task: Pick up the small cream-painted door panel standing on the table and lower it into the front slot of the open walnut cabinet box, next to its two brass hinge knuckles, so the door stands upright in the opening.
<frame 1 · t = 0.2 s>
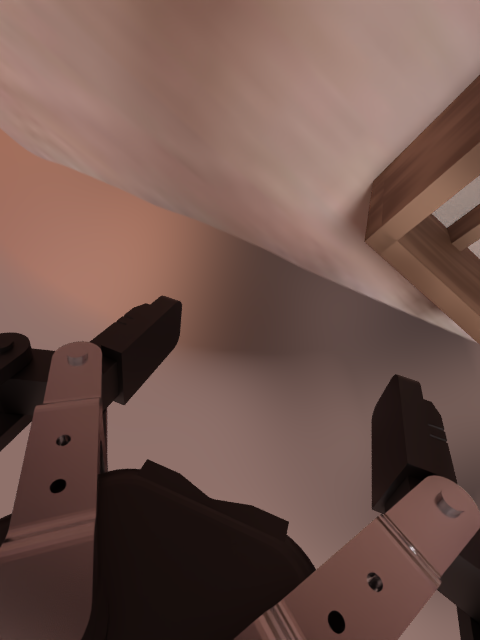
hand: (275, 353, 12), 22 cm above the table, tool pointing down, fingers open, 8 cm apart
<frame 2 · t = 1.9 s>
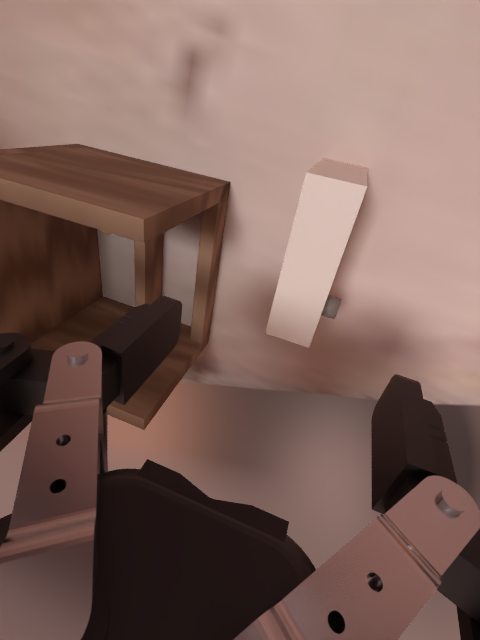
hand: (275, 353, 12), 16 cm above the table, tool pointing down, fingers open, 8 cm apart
cabinet: (149, 253, 31), on the table
door: (323, 233, 25), on the table
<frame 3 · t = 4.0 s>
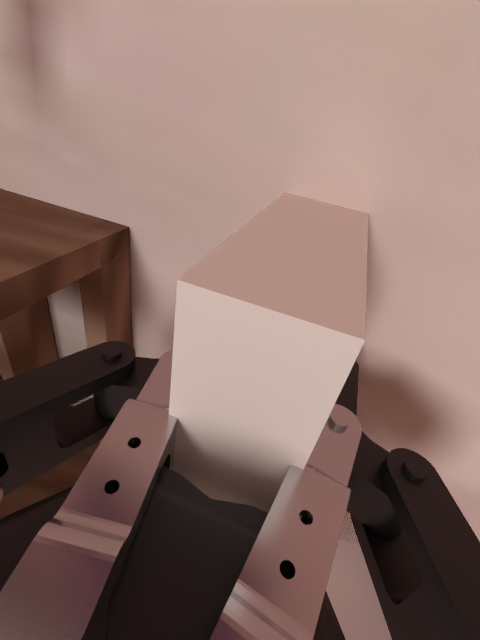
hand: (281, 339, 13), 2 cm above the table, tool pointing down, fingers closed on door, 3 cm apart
cabinet: (34, 323, 20), on the table
door: (290, 320, 14), on the table, touching gripper
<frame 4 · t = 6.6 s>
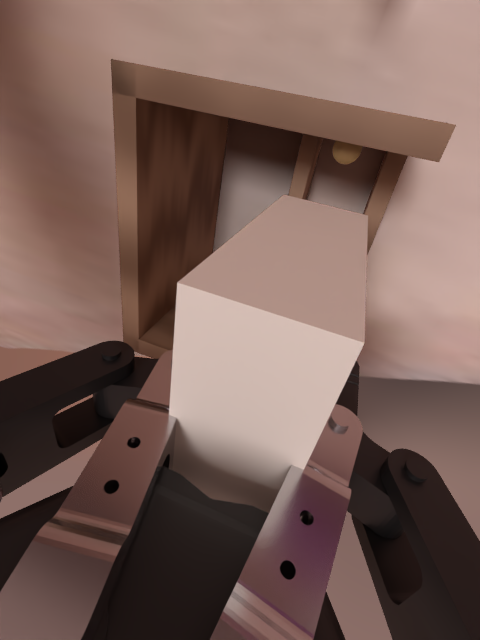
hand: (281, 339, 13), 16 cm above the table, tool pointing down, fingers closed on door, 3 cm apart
cabinet: (283, 218, 27), on the table
door: (289, 321, 14), point 15 cm above the table, touching gripper
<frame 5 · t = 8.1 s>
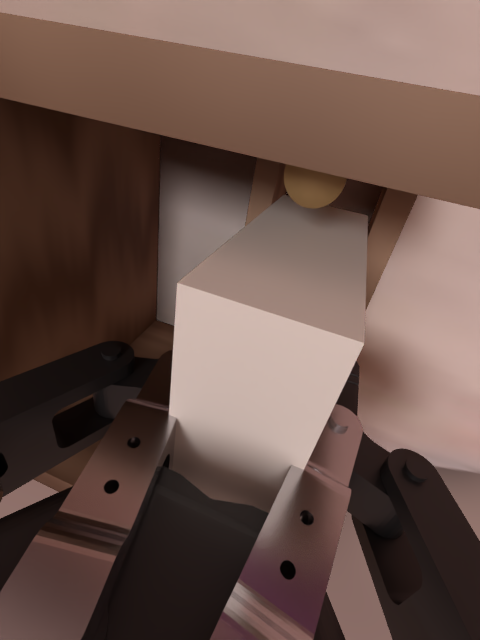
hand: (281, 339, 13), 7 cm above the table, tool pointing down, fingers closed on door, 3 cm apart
cabinet: (246, 255, 19), on the table
door: (289, 321, 14), point 5 cm above the table, touching gripper
when the fingers open (5 cm above the table, at t = 9.3 s): door drops 3 cm, resting in cabinet.
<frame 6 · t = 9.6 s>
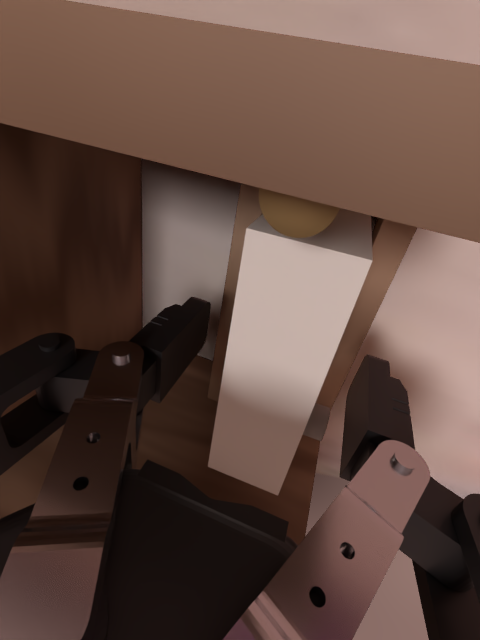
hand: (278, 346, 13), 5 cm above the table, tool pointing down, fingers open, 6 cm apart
cabinet: (236, 269, 17), on the table
door: (305, 289, 17), resting in cabinet
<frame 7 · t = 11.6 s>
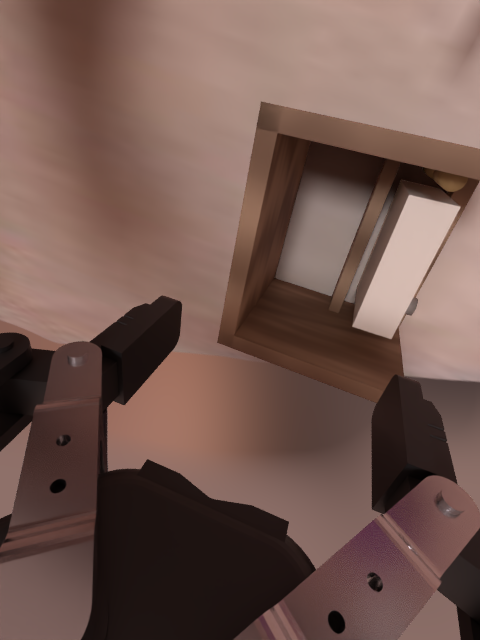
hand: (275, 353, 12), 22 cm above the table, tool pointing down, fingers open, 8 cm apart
cabinet: (352, 231, 30), on the table
door: (394, 242, 29), resting in cabinet
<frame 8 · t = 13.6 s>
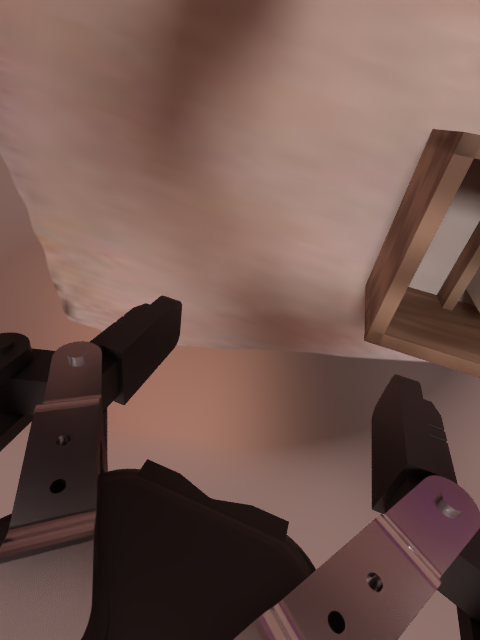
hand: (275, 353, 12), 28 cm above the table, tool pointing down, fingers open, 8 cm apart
cabinet: (466, 235, 32), on the table
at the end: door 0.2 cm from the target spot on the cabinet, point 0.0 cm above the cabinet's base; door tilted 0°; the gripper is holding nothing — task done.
